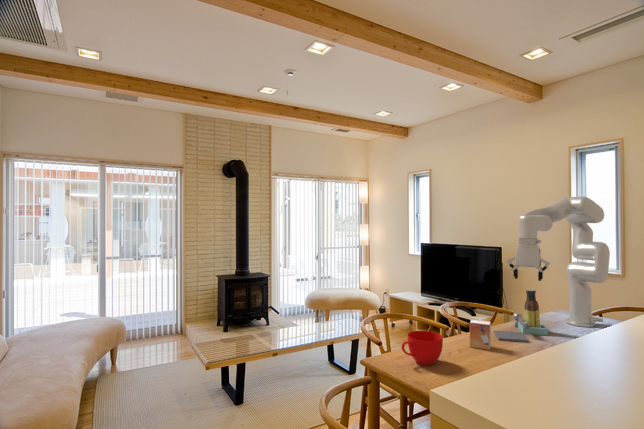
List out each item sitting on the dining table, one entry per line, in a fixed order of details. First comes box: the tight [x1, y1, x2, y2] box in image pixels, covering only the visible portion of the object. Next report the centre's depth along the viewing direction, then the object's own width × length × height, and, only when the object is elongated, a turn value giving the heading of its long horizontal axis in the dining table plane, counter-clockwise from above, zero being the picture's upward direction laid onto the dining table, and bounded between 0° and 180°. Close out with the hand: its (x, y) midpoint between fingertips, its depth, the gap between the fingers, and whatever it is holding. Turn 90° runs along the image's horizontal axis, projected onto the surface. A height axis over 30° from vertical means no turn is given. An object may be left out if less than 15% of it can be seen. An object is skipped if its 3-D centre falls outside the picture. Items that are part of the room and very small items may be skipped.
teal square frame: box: [514, 319, 549, 336], centre depth 184 cm, size 12×14×4 cm
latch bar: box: [513, 312, 529, 329], centre depth 182 cm, size 4×21×3 cm, turn 165°
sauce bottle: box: [524, 288, 541, 328], centre depth 183 cm, size 6×6×20 cm
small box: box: [469, 319, 492, 351], centre depth 161 cm, size 8×6×10 cm
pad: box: [493, 330, 529, 343], centre depth 174 cm, size 12×12×1 cm
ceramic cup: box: [401, 330, 444, 366], centre depth 144 cm, size 13×17×10 cm
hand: (527, 279), depth 175 cm, fingers open, 9 cm apart
